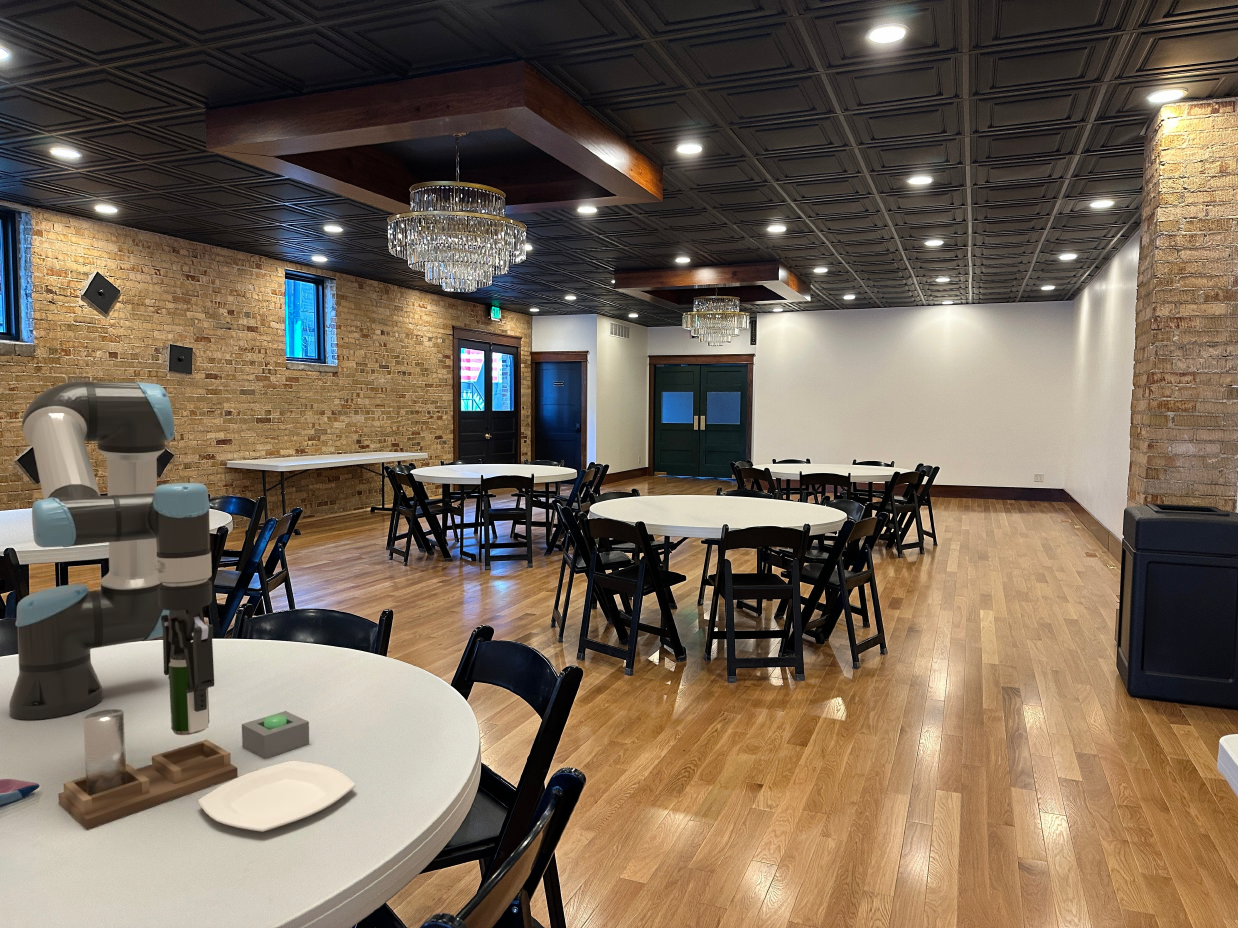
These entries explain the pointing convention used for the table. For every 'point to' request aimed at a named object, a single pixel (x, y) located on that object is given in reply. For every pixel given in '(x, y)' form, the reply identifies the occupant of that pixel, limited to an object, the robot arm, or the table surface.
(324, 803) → the plate
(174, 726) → the green drink can
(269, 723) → the button
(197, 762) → the wooden tray
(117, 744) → the cylinder
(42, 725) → the table surface
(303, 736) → the grey square socket block
